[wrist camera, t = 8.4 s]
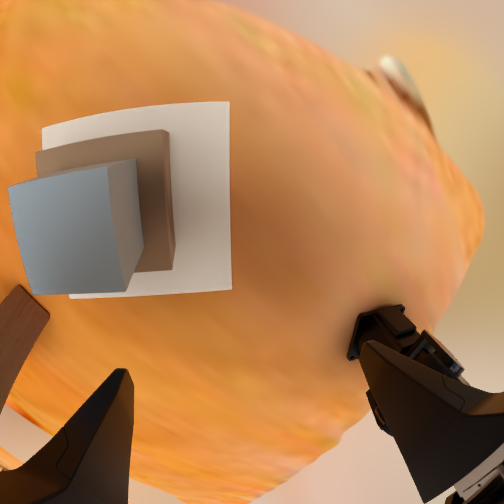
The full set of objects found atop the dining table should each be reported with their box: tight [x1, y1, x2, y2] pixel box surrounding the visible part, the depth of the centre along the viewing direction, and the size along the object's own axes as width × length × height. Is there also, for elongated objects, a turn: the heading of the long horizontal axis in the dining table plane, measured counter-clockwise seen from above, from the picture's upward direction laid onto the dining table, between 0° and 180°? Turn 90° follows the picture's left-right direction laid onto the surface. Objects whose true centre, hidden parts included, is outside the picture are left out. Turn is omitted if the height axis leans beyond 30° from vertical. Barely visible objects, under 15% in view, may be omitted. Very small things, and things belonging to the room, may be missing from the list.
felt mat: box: [42, 102, 232, 299], centre depth 18 cm, size 14×14×1 cm
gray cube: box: [8, 159, 144, 295], centre depth 11 cm, size 5×5×5 cm
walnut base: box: [36, 129, 176, 273], centre depth 15 cm, size 8×8×4 cm
